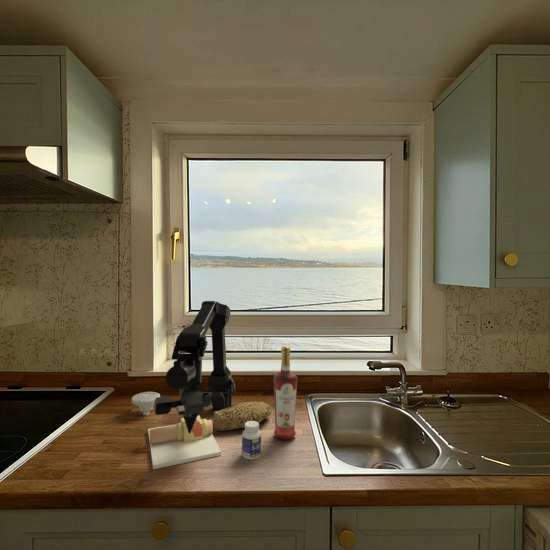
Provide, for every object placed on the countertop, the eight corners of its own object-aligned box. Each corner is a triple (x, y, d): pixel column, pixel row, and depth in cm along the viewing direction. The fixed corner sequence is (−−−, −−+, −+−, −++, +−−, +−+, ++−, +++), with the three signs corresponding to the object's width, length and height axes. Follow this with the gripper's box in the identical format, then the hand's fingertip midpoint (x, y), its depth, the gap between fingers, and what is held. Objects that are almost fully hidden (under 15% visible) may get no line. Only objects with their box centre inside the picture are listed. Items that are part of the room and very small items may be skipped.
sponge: (216, 440, 110) (278, 422, 114) (211, 415, 111) (272, 398, 115) (216, 429, 123) (271, 413, 127) (211, 406, 124) (266, 391, 128)
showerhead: (125, 398, 121) (139, 388, 131) (125, 419, 121) (139, 408, 131) (152, 400, 120) (164, 389, 130) (152, 421, 120) (164, 409, 130)
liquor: (274, 443, 106) (275, 350, 105) (271, 431, 113) (272, 344, 112) (298, 441, 107) (299, 349, 106) (294, 430, 115) (294, 344, 114)
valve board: (204, 422, 120) (204, 405, 120) (220, 455, 99) (221, 434, 99) (148, 431, 113) (148, 413, 113) (153, 469, 92) (153, 447, 92)
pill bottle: (253, 462, 96) (253, 429, 96) (238, 456, 99) (238, 425, 99) (264, 453, 101) (264, 422, 100) (249, 448, 103) (249, 418, 103)
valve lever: (186, 418, 109) (186, 411, 109) (195, 417, 110) (195, 410, 110) (193, 437, 97) (193, 430, 97) (203, 435, 98) (203, 428, 98)
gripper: (157, 389, 88) (155, 452, 88) (231, 383, 94) (229, 441, 95) (154, 376, 98) (153, 432, 98) (221, 371, 105) (219, 424, 105)
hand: (189, 433), depth 99 cm, fingers closed
